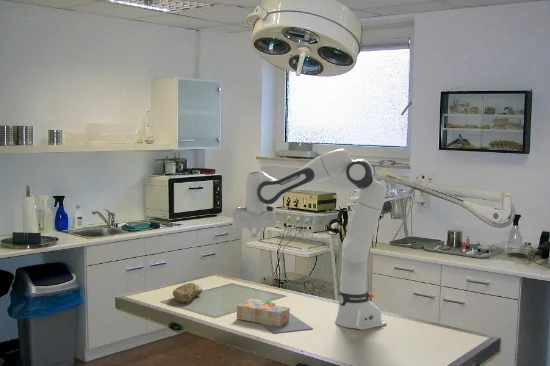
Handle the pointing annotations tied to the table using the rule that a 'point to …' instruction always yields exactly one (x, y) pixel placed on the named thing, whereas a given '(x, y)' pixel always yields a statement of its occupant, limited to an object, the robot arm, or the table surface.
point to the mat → (289, 326)
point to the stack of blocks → (263, 312)
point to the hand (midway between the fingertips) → (253, 237)
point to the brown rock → (187, 292)
